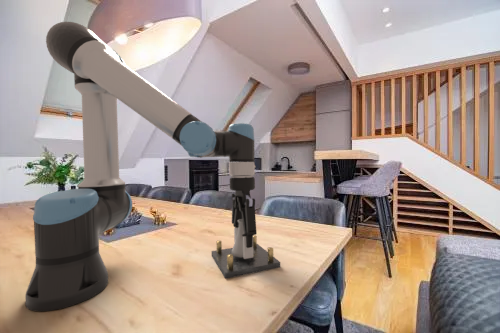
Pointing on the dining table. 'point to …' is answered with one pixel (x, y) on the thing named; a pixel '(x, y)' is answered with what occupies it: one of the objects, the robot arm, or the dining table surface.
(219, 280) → the dining table surface
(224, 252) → the pin plate
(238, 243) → the flask
